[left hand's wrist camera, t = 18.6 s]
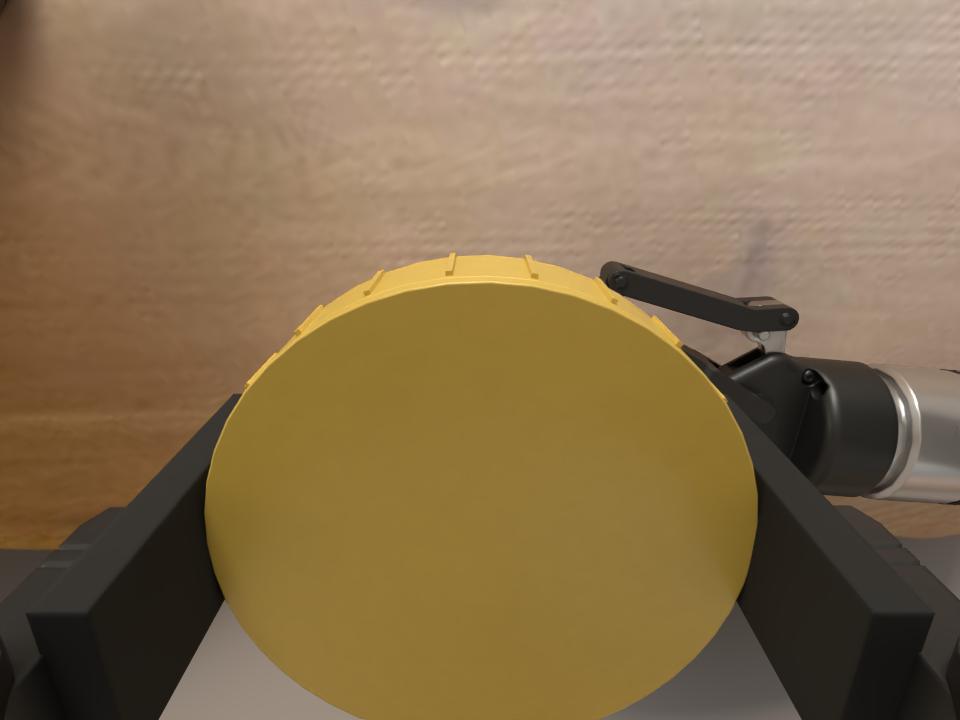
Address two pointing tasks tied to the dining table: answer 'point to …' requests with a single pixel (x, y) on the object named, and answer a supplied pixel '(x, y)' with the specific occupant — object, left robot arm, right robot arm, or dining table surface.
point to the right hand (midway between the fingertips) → (454, 396)
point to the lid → (481, 498)
